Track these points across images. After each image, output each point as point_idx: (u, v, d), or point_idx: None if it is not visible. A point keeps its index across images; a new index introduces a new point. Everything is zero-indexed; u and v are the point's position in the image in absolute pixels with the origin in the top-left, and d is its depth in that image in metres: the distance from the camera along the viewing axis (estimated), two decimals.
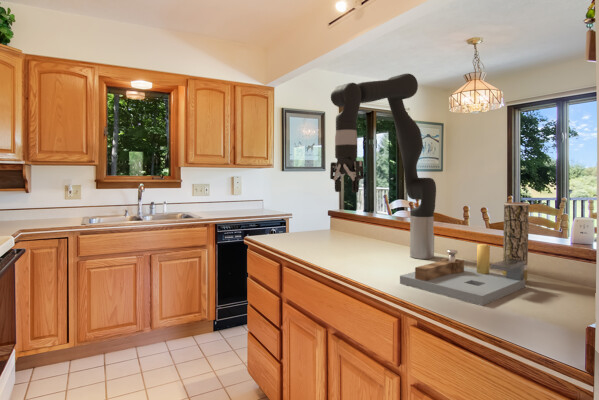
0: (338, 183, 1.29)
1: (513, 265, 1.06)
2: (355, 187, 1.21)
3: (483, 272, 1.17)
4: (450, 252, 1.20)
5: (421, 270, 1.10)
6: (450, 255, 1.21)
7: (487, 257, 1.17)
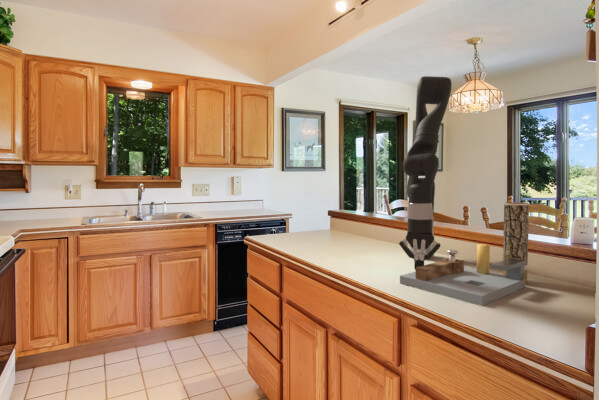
0: None
1: (513, 265, 1.06)
2: None
3: (483, 272, 1.17)
4: (450, 252, 1.20)
5: (422, 270, 1.10)
6: (450, 255, 1.21)
7: (487, 257, 1.17)
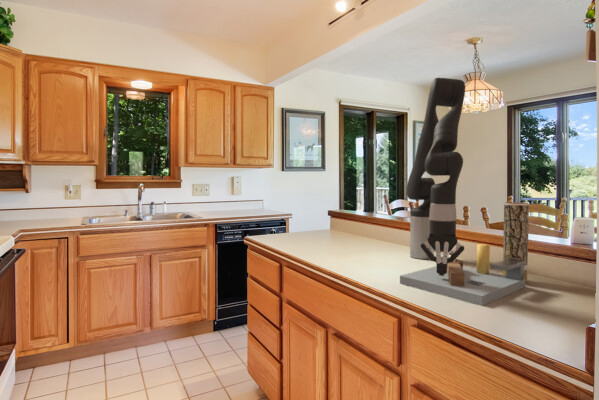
0: None
1: (513, 265, 1.06)
2: None
3: (483, 272, 1.17)
4: (450, 252, 1.20)
5: (459, 275, 1.04)
6: (450, 255, 1.21)
7: (487, 257, 1.17)
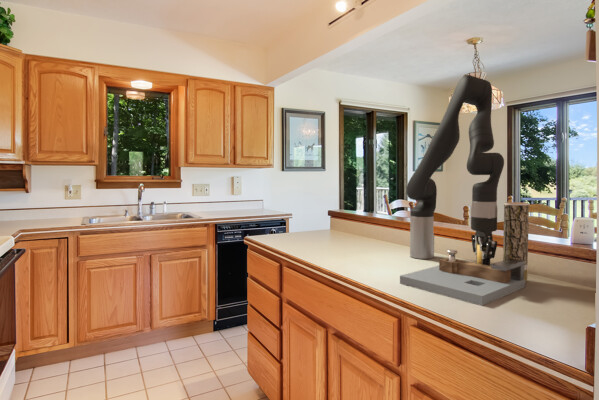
0: None
1: (513, 265, 1.06)
2: None
3: None
4: (450, 252, 1.20)
5: (508, 272, 1.08)
6: (450, 255, 1.21)
7: None
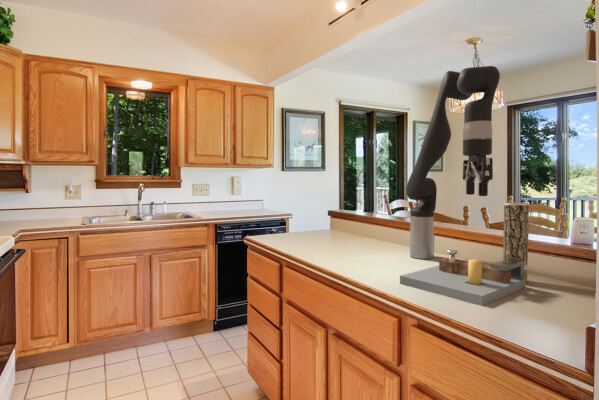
0: None
1: (513, 265, 1.06)
2: None
3: None
4: (450, 252, 1.20)
5: (508, 272, 1.08)
6: (450, 255, 1.21)
7: (479, 274, 1.06)
